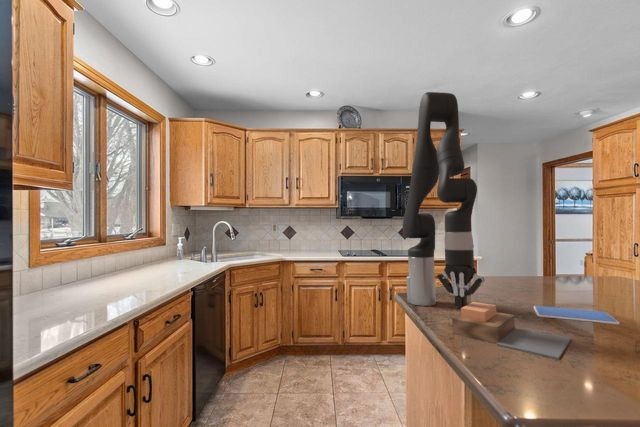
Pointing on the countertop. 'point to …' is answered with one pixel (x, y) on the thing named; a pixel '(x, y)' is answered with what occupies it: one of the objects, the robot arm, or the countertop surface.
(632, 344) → the countertop surface
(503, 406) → the countertop surface
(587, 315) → the tablet computer
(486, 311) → the orange rectangular block
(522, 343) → the mat
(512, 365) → the countertop surface
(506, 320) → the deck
